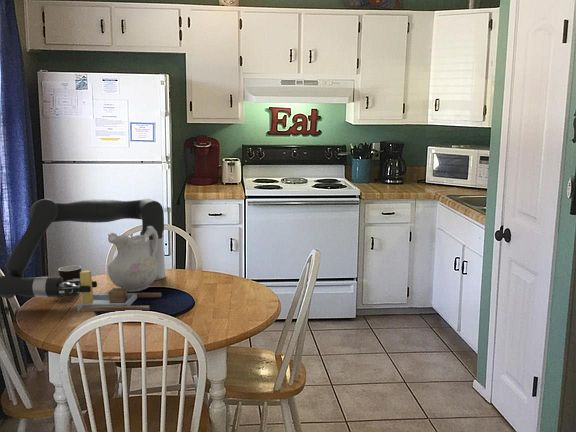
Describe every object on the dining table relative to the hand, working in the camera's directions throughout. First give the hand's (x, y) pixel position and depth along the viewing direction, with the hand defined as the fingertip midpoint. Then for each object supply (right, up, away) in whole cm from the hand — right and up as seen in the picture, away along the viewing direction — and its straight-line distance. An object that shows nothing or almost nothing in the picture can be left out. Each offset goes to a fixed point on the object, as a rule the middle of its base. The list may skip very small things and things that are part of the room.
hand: (93, 286), depth 244 cm
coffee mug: (-14, -5, +21) cm, 26 cm away
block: (+9, -6, 0) cm, 11 cm away
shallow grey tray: (+5, -7, +1) cm, 9 cm away
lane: (+11, -7, 0) cm, 13 cm away
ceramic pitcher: (+11, -4, +21) cm, 24 cm away
